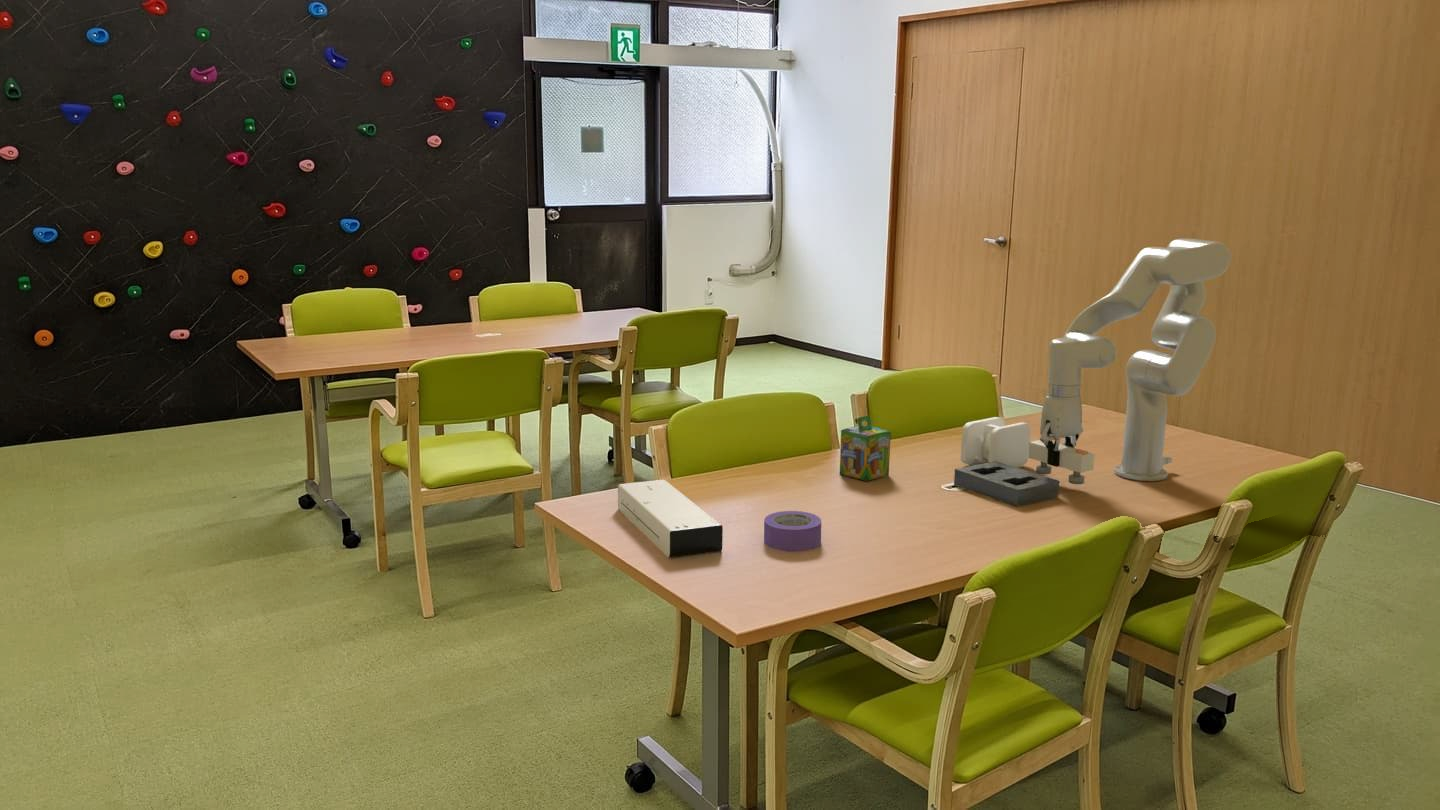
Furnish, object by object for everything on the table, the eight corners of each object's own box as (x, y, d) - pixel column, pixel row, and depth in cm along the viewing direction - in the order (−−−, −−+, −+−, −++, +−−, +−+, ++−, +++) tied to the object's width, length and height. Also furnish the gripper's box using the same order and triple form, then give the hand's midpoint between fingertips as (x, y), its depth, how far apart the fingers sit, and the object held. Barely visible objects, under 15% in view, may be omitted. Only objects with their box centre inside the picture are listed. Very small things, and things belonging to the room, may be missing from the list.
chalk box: (866, 482, 279) (869, 423, 276) (838, 474, 285) (840, 416, 282) (890, 475, 285) (893, 417, 282) (862, 467, 292) (864, 411, 288)
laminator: (618, 510, 256) (617, 484, 255) (669, 504, 261) (669, 478, 260) (670, 561, 226) (670, 531, 224) (727, 553, 230) (727, 524, 229)
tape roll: (779, 555, 229) (779, 531, 228) (754, 537, 239) (754, 514, 238) (831, 548, 234) (832, 524, 233) (804, 530, 244) (805, 507, 243)
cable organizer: (990, 475, 286) (993, 430, 284) (958, 466, 294) (960, 422, 292) (1028, 466, 295) (1032, 422, 292) (996, 457, 303) (999, 414, 301)
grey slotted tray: (994, 476, 285) (995, 461, 284) (1058, 497, 269) (1059, 480, 268) (953, 484, 278) (954, 469, 277) (1016, 506, 261) (1018, 490, 260)
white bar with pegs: (1040, 467, 286) (1041, 436, 284) (1092, 483, 273) (1094, 450, 271) (1028, 471, 284) (1029, 439, 282) (1080, 486, 271) (1081, 454, 269)
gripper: (1074, 382, 281) (1071, 454, 285) (1027, 392, 272) (1024, 466, 276) (1099, 387, 275) (1096, 460, 279) (1052, 398, 266) (1048, 473, 270)
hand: (1060, 462), depth 278 cm, fingers closed on white bar with pegs, 4 cm apart
